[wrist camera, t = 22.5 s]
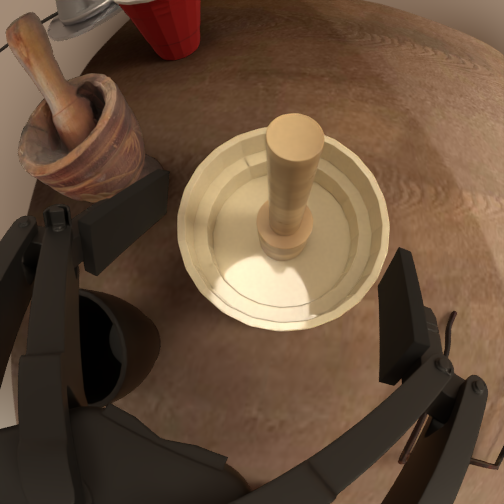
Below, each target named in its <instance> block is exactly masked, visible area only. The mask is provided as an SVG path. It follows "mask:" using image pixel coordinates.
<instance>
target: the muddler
mask: <svg viewBox="0 0 504 504" xmlns="http://www.w3.org/2000/svg"><path fill="white" fill-rule="evenodd" d="M324 140H325V138H324V133H323V131H322V129H321V127H320V126H319V124H318V123H317V122H316V121H315V120H313V119H312V118H310V117H308V116H306V115H303V114H297V113H290V114H284V115H281V116H279V117H277V118H276V119H274V120H273V121H272V122H271V123H270V125H269V126H268V128H267V131H266V154H267V177H268V200H267V201H266V202H265V203H264V204H263V205H262V206H261V208H260V209H259V212H258V214H257V220H256V224H257V230H258V236H259V241H260V245H261V248H262V250H263V251H264V252H265V254H266V255H267V256H269V257H270V258H272V259H274V260H278V261H288V260H291V259H294V258H295V257H297V256H298V255H299V254H300V253H301V252H302V251H303V249H304V247H305V245H306V243H307V241H308V238H309V236H310V234H311V232H312V229H313V216H312V213H311V211H310V209H309V207H308V206H307V201H308V198H309V195H310V191H311V188H312V184H313V181H314V178H315V174H316V171H317V167H318V164H319V160H320V157H321V153H322V150H323V146H324Z"/></svg>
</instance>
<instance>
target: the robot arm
mask: <svg viewBox="0 0 504 504" xmlns="http://www.w3.org/2000/svg"><path fill="white" fill-rule="evenodd" d="M112 3H114V1H113V0H56V5H57V10H58V11H57V12H56V13H54V14H52V15H50V16H49V17H47V18H45V19H44V20H42V21H41V23H42V24H43V23H45V22H46V21H48V20H50V19H52V18H53V17H55V16H57V15H58V16H59V19H60V21H61V22H62V24H63V25H73V24H77V23H79V22H82V21H84V20H86V19H89V18H91V17H92V16H94V15H96V14H98V13H99V12H101V11H103V10H104V9H106V8H107V7H109V6H110V5H111V4H112ZM8 46H9V45H8V43H7V44H6V45H5V46H3V47H2V48H1V49H0V52H1V51H3V50H4V49H5V48H7V47H8ZM169 173H170V172H169V171H166V170H162V169H157V170H155V171H153V172H152V173H150V174H148V175H146V176H145V177H143V178H141V179H140V180H138V181H137V182H135V183H133V184H132V185H130V186H128V187H127V188H125V189H124V190H122V191H120V192H119V193H117V194H116V195H114V196H113V197H111V198H110V199H109V198H106V199H103V200H100V201H98V202H96V203H95V204H93V205H92V206H91V207H89V208H87V209H86V210H84V211H83V212H81V213H80V214H78V215H77V216H75V217H74V218H73V219H71V215H70V208H69V206H67V205H65V204H55V205H52V206H49V207H48V208H46V209H45V210H44V212H43V216H44V222H45V227H42V226H37V222H36V218H35V217H33V216H23V217H20V218H19V219H17V220H16V221H15V222H14V223H13V224H12V226H11V227H10V229H9V230H8V231H7V233H6V234H5V235H4V237H3V238H2V240H1V241H0V388H1V384H2V381H3V377H4V374H5V370H6V367H7V363H8V360H9V357H10V354H11V351H12V348H13V345H14V342H15V339H16V336H17V333H18V330H19V328H20V325H21V322H22V320H23V317H24V315H25V312H26V310H27V307H28V305H29V302H30V300H31V297H32V301H31V308H30V317H29V326H28V338H27V351H26V355H21V357H20V359H19V370H18V417H19V424H18V425H14V426H11V427H7V428H2V429H0V504H330V503H331V502H333V501H334V500H335V499H336V496H337V495H338V494H339V493H340V492H341V491H342V490H344V489H345V488H346V487H347V486H348V485H350V484H351V483H352V482H353V481H355V480H356V479H357V478H358V477H359V476H360V475H362V474H363V473H364V472H365V471H366V470H367V469H368V468H370V467H371V466H372V465H373V464H374V463H375V462H376V461H377V460H378V459H379V458H380V457H382V456H383V455H384V454H385V453H386V452H387V451H388V450H389V449H390V448H391V447H392V446H393V445H394V444H395V443H396V442H397V441H398V440H399V439H400V438H401V437H402V436H403V435H404V434H405V433H406V431H407V430H408V429H409V428H410V427H411V426H412V425H413V424H414V423H415V422H416V421H417V419H418V418H419V417H420V416H421V415H422V414H423V413H424V412H425V413H426V414H428V415H429V417H428V419H427V422H426V424H425V426H424V428H423V430H422V432H421V434H420V436H419V439H418V441H417V443H416V445H415V446H414V448H413V450H412V452H411V454H410V456H409V458H408V460H407V462H406V463H405V465H404V467H403V469H402V470H401V472H400V474H399V476H398V477H397V479H396V481H395V482H394V484H393V486H392V487H391V489H390V491H389V492H388V494H387V495H386V497H385V498H384V500H383V501H382V503H381V504H453V503H454V500H455V498H456V496H457V494H458V491H459V489H460V486H461V484H462V481H463V479H464V476H465V473H466V471H467V468H468V465H469V462H470V459H471V456H472V453H473V450H474V447H475V444H476V440H477V437H478V434H479V430H480V426H481V422H482V419H483V415H484V410H485V406H486V401H487V397H488V389H487V386H486V384H485V382H484V381H483V380H482V379H481V378H480V377H479V376H477V375H471V376H469V377H468V378H467V379H466V380H464V379H462V378H461V377H459V376H457V375H456V374H454V368H453V365H452V363H451V361H450V360H449V359H448V358H447V357H446V356H445V355H443V352H442V346H441V341H440V335H439V334H438V333H439V330H438V327H437V326H438V325H437V321H436V317H435V315H434V313H433V312H432V310H431V308H428V307H425V306H424V305H423V300H422V295H421V291H420V286H419V282H418V278H417V273H416V269H415V265H414V261H413V257H412V254H411V252H410V251H408V250H405V249H403V248H400V247H399V248H398V250H397V252H396V254H395V256H394V257H393V259H392V261H391V263H390V265H389V267H388V269H387V270H386V272H385V274H384V276H383V278H382V280H381V281H380V283H379V285H378V297H379V327H380V367H379V382H382V383H386V384H389V385H393V386H394V385H395V384H396V383H397V382H398V381H399V380H400V379H401V378H402V385H401V386H400V387H399V388H398V389H397V390H396V391H395V392H393V393H392V394H391V395H390V396H389V397H388V398H387V399H386V400H385V401H383V402H382V403H381V404H380V405H379V406H378V407H376V408H375V409H374V410H373V411H372V412H371V413H369V414H368V415H367V416H366V417H364V418H363V419H362V420H361V421H360V422H358V423H357V424H356V425H355V426H353V427H352V428H351V429H349V430H348V431H347V432H345V433H344V434H343V435H342V436H340V437H339V438H337V439H336V440H335V441H333V442H332V443H331V444H329V445H328V446H326V447H325V448H324V449H322V450H321V451H319V452H318V453H316V454H315V455H313V456H312V457H310V458H309V459H307V460H305V461H304V462H302V463H300V464H299V465H297V466H296V467H294V468H292V469H291V470H289V471H288V472H286V473H284V474H283V475H281V476H279V477H278V478H276V479H274V480H272V481H271V482H269V483H267V484H265V485H264V486H262V487H260V488H258V489H256V490H254V491H252V490H251V488H250V486H249V485H248V483H247V482H246V480H245V479H244V478H243V477H242V476H241V475H240V474H239V473H238V472H237V471H236V470H235V469H234V468H232V467H231V466H229V465H228V464H226V461H227V458H228V457H226V456H223V455H220V454H217V453H215V452H212V451H209V450H207V449H204V448H202V447H199V446H197V445H191V444H185V443H180V442H175V441H170V440H165V439H162V438H160V437H159V436H157V435H156V434H155V433H154V432H152V431H151V430H150V429H149V428H148V427H146V426H145V425H144V424H143V423H142V422H140V421H139V420H138V419H137V418H136V417H134V416H132V415H131V414H129V413H127V412H125V411H123V410H121V409H120V408H118V407H116V406H114V405H113V404H111V403H108V405H107V406H106V408H102V407H96V406H88V403H87V400H86V397H85V392H84V385H83V376H82V365H81V351H80V333H79V266H78V265H79V264H80V263H81V262H82V261H84V267H85V271H87V272H89V273H91V274H93V275H95V276H98V275H99V274H100V273H101V272H102V271H103V270H104V269H105V268H106V267H107V266H108V265H109V264H110V263H111V262H113V261H114V260H115V259H116V258H117V257H118V256H119V255H120V254H121V253H122V252H123V251H124V250H126V249H127V248H128V247H129V246H130V245H131V244H132V243H133V242H134V241H135V240H137V239H138V238H139V237H140V236H141V235H142V234H143V233H145V232H146V231H147V230H148V229H149V228H150V227H151V226H152V225H154V224H155V223H156V222H157V221H158V220H159V219H161V218H162V217H163V216H164V215H165V214H166V213H167V198H168V185H169Z"/></svg>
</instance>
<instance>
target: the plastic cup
mask: <svg viewBox="0 0 504 504" xmlns="http://www.w3.org/2000/svg"><path fill="white" fill-rule="evenodd" d="M113 1H114V2H115V3H117V4H119V6H120V7H121V8H122V9H123V10H124V12H125V13H126V14H127V15H128V16H129V17H130V19H131V20H132V22H133V23H134V24H135V26H136V27H137V28H138V30H139V31H140V33H141V34H142V35H143V37H144V38H145V40H146V41H147V42H148V43H149V44H150V45H151V46H152V48H153V49H154V51H155V52H156V53H157V54H158V55H159V56H160V57H161V58H162V59H165V60H177V59H181V58H184V57H186V56H188V55H190V54H192V53H193V52H194V51H195V50H196V49H197V48H198V46H199V44H200V0H113Z"/></svg>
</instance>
